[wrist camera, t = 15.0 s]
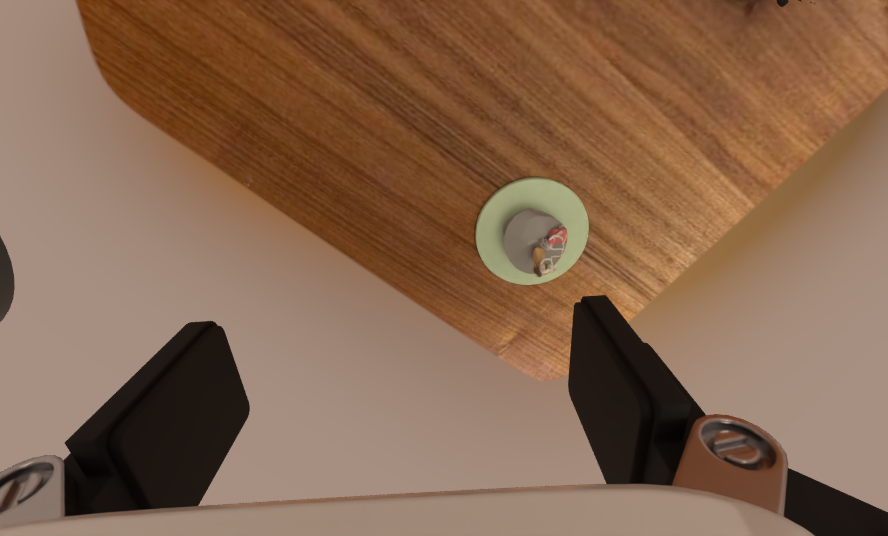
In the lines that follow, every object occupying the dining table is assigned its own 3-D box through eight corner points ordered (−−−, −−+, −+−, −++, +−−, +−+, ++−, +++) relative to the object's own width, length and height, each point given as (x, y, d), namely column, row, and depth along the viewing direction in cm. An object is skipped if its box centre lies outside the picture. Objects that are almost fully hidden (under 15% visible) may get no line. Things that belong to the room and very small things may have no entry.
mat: (477, 285, 33) (478, 288, 33) (472, 181, 30) (472, 183, 29) (583, 277, 33) (585, 281, 32) (590, 172, 29) (592, 174, 29)
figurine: (489, 219, 30) (499, 250, 25) (545, 190, 29) (567, 215, 24) (520, 275, 32) (535, 316, 27) (573, 249, 31) (600, 286, 26)
